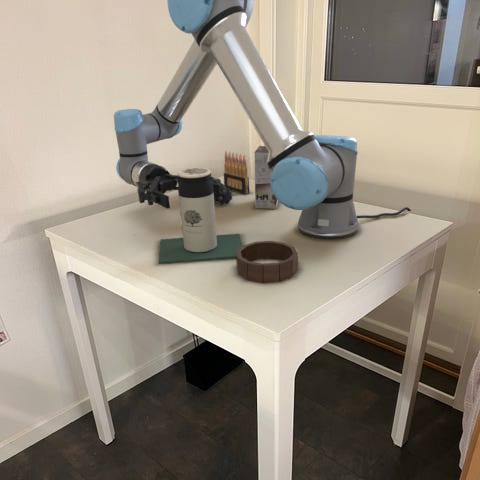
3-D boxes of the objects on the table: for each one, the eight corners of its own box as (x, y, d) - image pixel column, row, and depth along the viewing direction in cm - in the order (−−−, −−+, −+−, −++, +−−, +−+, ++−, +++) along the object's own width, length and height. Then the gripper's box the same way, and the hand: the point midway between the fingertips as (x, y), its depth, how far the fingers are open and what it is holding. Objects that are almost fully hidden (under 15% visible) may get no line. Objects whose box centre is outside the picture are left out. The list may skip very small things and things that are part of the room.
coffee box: (276, 209, 140) (276, 152, 132) (254, 208, 141) (253, 151, 133) (280, 199, 148) (280, 144, 139) (259, 199, 149) (259, 144, 141)
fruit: (235, 174, 140) (203, 165, 149) (215, 190, 137) (183, 179, 146) (243, 200, 146) (211, 189, 155) (224, 215, 143) (192, 203, 152)
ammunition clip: (224, 188, 161) (221, 151, 155) (228, 187, 162) (226, 150, 156) (245, 194, 154) (244, 155, 148) (249, 193, 155) (248, 154, 149)
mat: (239, 235, 123) (239, 233, 123) (245, 257, 112) (245, 255, 111) (161, 241, 122) (160, 239, 122) (158, 264, 110) (158, 261, 110)
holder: (290, 255, 112) (290, 239, 110) (302, 279, 101) (302, 262, 99) (234, 259, 111) (234, 243, 109) (240, 284, 100) (239, 267, 98)
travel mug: (196, 238, 121) (190, 165, 112) (223, 243, 118) (218, 169, 108) (177, 249, 115) (169, 174, 106) (205, 255, 112) (198, 177, 103)
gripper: (193, 183, 134) (238, 200, 119) (109, 202, 122) (147, 224, 107) (191, 155, 130) (236, 170, 115) (104, 172, 118) (142, 190, 103)
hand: (193, 196), depth 111 cm, fingers open, 13 cm apart
